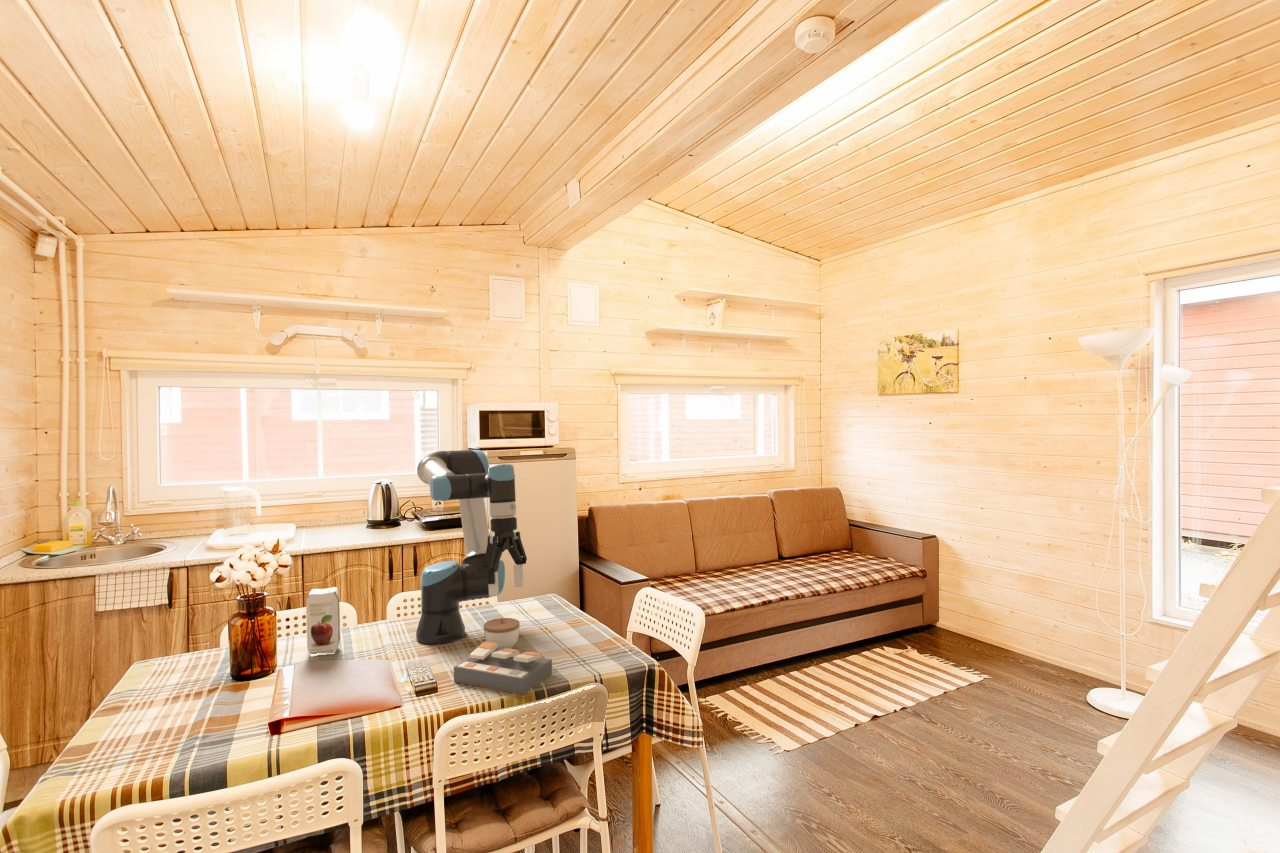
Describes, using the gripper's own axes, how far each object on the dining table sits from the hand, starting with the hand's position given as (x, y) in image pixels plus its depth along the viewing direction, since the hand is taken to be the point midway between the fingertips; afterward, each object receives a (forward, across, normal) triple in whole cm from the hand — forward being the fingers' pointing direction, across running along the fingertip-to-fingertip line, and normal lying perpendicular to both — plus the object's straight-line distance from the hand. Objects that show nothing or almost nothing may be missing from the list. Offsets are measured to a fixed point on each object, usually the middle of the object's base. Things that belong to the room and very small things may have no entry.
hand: (506, 591), depth 182 cm
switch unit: (+22, -9, -3) cm, 24 cm away
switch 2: (+16, -8, -4) cm, 18 cm away
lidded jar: (+19, +10, +9) cm, 23 cm away
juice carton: (+16, -10, +59) cm, 62 cm away
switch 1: (+15, -8, +3) cm, 17 cm away
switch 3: (+17, -8, -11) cm, 22 cm away
